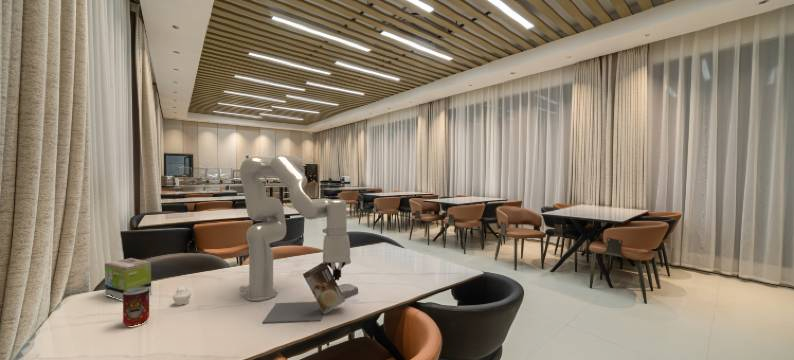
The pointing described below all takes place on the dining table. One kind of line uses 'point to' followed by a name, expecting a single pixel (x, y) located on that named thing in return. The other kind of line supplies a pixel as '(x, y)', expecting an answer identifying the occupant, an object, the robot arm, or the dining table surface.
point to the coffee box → (324, 287)
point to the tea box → (126, 276)
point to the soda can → (135, 305)
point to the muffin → (181, 296)
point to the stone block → (348, 290)
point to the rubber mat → (294, 313)
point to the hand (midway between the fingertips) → (337, 279)
